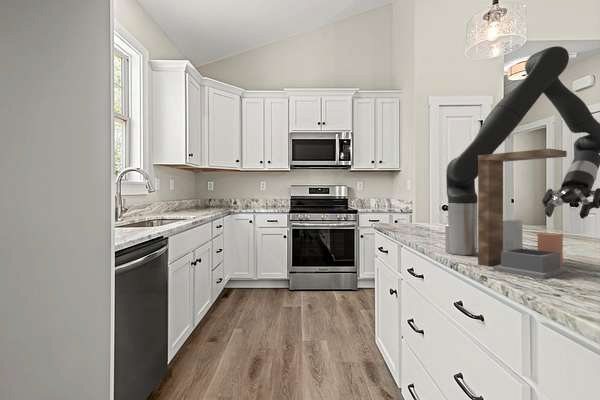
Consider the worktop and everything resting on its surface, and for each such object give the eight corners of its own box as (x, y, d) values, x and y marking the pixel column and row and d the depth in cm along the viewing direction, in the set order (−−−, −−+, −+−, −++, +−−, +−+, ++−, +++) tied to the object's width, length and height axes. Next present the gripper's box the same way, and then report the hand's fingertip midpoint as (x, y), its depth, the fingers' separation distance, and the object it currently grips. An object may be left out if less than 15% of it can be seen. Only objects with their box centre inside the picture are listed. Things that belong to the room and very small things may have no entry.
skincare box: (508, 255, 117) (508, 219, 117) (522, 257, 114) (523, 220, 114) (502, 258, 113) (502, 220, 112) (517, 260, 110) (517, 221, 109)
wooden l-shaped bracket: (476, 264, 103) (476, 155, 102) (494, 261, 108) (494, 157, 108) (548, 277, 87) (549, 148, 87) (565, 271, 93) (566, 151, 92)
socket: (493, 270, 96) (493, 251, 95) (518, 264, 103) (518, 246, 103) (543, 278, 86) (543, 258, 85) (567, 271, 93) (567, 252, 93)
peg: (537, 265, 102) (537, 233, 102) (544, 263, 104) (544, 232, 104) (555, 267, 98) (555, 235, 98) (562, 265, 100) (562, 234, 100)
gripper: (550, 170, 117) (534, 206, 111) (605, 168, 105) (590, 208, 99) (557, 187, 120) (541, 222, 114) (611, 186, 108) (597, 225, 102)
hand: (564, 215), depth 106 cm, fingers open, 8 cm apart
